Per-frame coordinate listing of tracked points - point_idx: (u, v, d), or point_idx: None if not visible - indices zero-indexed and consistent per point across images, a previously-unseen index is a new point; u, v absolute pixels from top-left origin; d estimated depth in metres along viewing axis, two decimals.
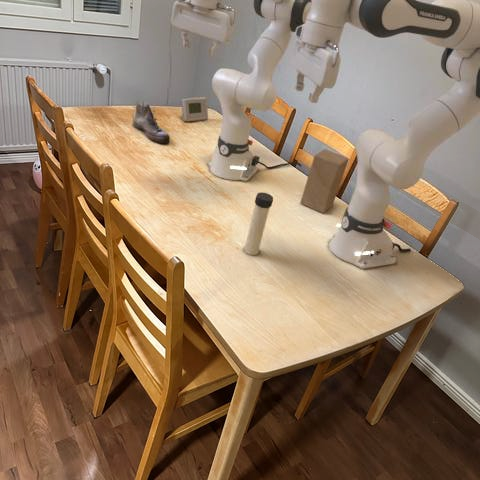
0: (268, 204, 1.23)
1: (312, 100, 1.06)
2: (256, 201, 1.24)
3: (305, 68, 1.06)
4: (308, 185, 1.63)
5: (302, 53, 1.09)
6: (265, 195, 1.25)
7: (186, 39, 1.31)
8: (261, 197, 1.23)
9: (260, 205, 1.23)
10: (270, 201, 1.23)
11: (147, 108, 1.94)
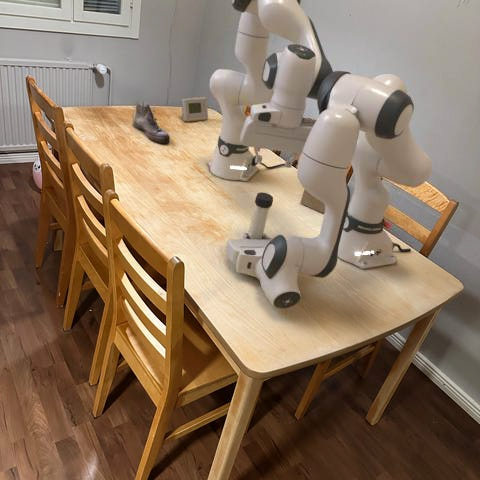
0: (268, 204, 1.23)
1: None
2: (256, 201, 1.24)
3: None
4: None
5: None
6: (265, 195, 1.25)
7: (258, 155, 1.17)
8: (261, 197, 1.23)
9: (260, 205, 1.23)
10: (270, 201, 1.23)
11: (147, 108, 1.94)
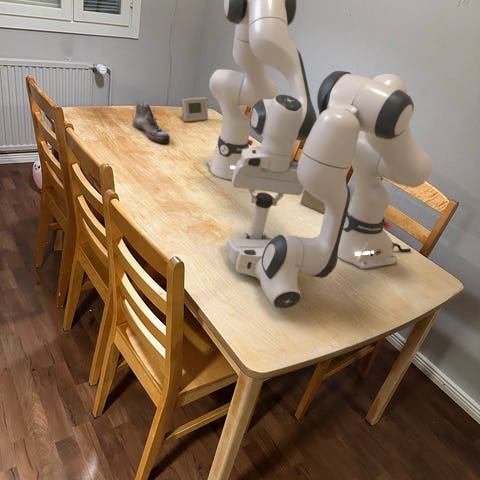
0: (268, 204, 1.23)
1: None
2: (256, 201, 1.24)
3: None
4: None
5: None
6: (265, 195, 1.25)
7: (253, 195, 1.24)
8: (261, 197, 1.23)
9: (260, 205, 1.23)
10: (270, 201, 1.23)
11: (147, 108, 1.94)
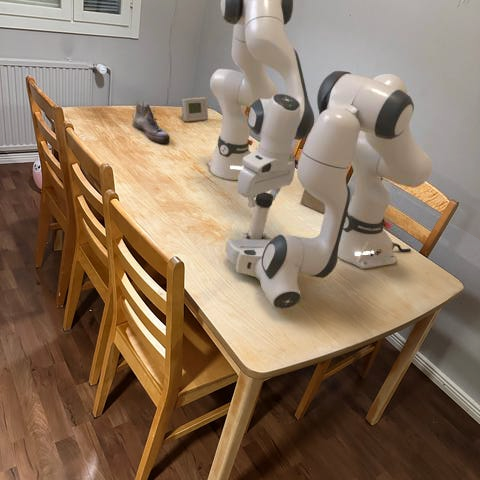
0: None
1: None
2: (264, 204, 1.23)
3: None
4: None
5: None
6: (263, 194, 1.25)
7: None
8: (267, 198, 1.23)
9: (269, 205, 1.24)
10: None
11: (147, 108, 1.94)
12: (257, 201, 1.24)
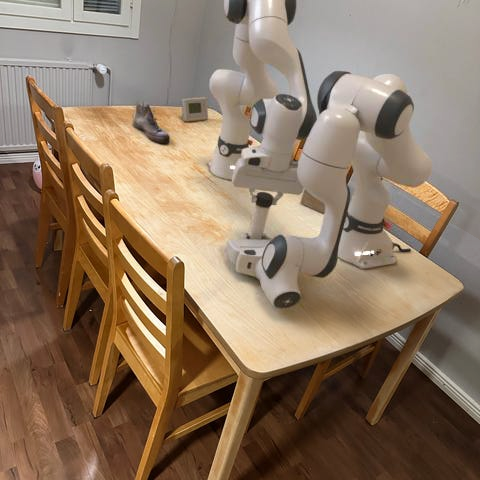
0: None
1: None
2: (264, 204, 1.23)
3: None
4: None
5: None
6: (263, 194, 1.25)
7: (253, 195, 1.24)
8: (267, 198, 1.23)
9: (269, 205, 1.24)
10: None
11: (147, 108, 1.94)
12: (257, 201, 1.24)
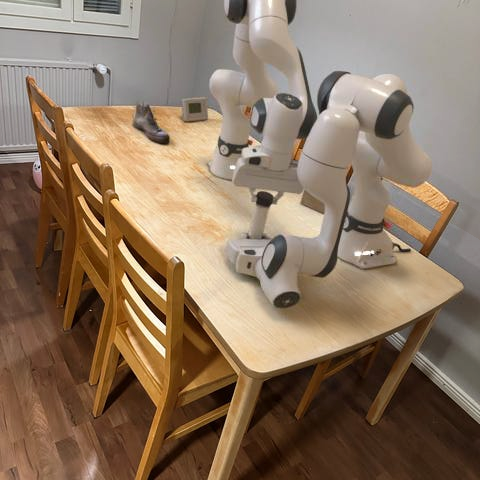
0: None
1: None
2: (271, 202, 1.25)
3: None
4: None
5: None
6: (263, 195, 1.24)
7: (254, 194, 1.24)
8: (270, 196, 1.24)
9: None
10: None
11: (147, 108, 1.94)
12: (266, 203, 1.23)
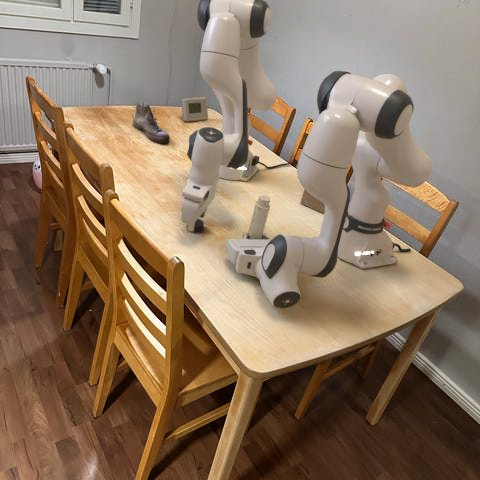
0: None
1: None
2: None
3: None
4: None
5: None
6: (196, 223, 1.37)
7: None
8: (198, 220, 1.39)
9: None
10: None
11: (147, 108, 1.94)
12: (202, 228, 1.38)
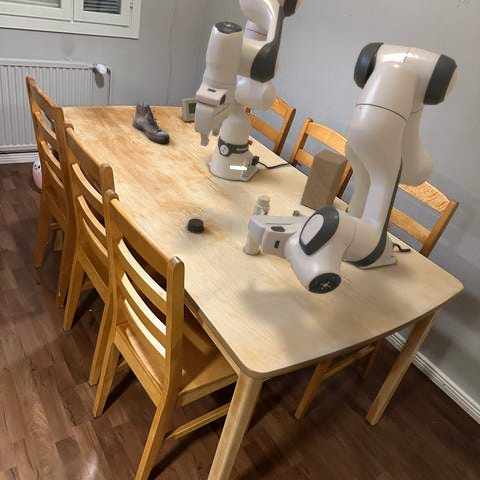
0: None
1: None
2: None
3: None
4: (308, 185, 1.63)
5: None
6: (196, 223, 1.37)
7: None
8: (198, 220, 1.39)
9: None
10: None
11: (147, 108, 1.94)
12: (202, 228, 1.38)
